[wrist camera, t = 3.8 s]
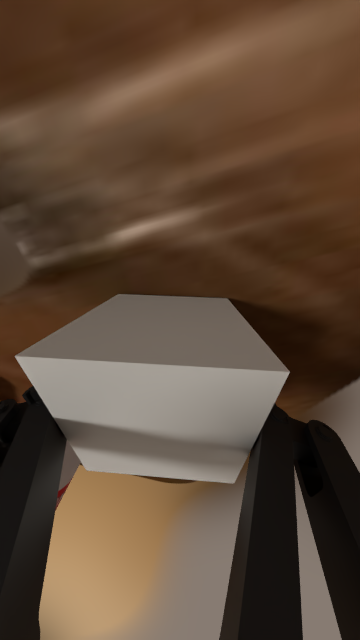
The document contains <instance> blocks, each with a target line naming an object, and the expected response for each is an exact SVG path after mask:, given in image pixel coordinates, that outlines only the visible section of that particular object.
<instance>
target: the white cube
mask: <svg viewBox="0 0 360 640" xmlns="http://www.w3.org/2000/svg"><path fill="white" fill-rule="evenodd" d="M15 358H16V359H17V361H18V362H19V364H20V365H21V367H22V369H23V370H24V372H25V373H26V375H27V377H28V378H29V380H30V381H31V383H32V385H33V386H34V388H35V389H36V391H37V392H38V394H39V396H40V397H41V399H42V400H43V402H44V404H45V405H46V407H47V408H48V410H49V412H50V413H51V415H52V416H53V418H54V420H55V421H56V423H57V424H58V426H59V427H60V429H61V431H62V432H63V434H64V435H65V437H66V439H67V440H68V442H69V443H70V445H71V447H72V448H73V450H74V451H75V453H76V454H77V456H78V458H79V459H80V461H81V462H82V464H83V466H84V467H85V469H86V470H87V471H98V472H110V473H121V474H132V475H144V476H155V477H167V478H178V479H189V480H201V481H212V482H224V483H234V482H235V480H236V478H237V476H238V474H239V472H240V470H241V468H242V466H243V464H244V462H245V460H246V458H247V456H248V454H249V452H250V451H251V449H252V447H253V445H254V443H255V441H256V439H257V437H258V435H259V433H260V431H261V429H262V427H263V425H264V423H265V421H266V419H267V417H268V415H269V413H270V411H271V409H272V407H273V405H274V403H275V401H276V399H277V397H278V395H279V393H280V391H281V389H282V387H283V385H284V383H285V381H286V379H287V377H288V375H289V373H290V371H289V370H288V369H287V368H286V367H285V366H284V364H283V363H282V362H281V361H280V360H279V359H278V357H277V356H276V355H275V354H274V353H273V352H272V350H271V349H270V348H269V347H268V346H267V344H266V343H265V342H264V341H263V340H262V339H261V337H260V336H259V335H258V334H257V333H256V332H255V330H254V329H253V328H252V327H251V326H250V324H249V323H248V322H247V321H246V320H245V319H244V317H243V316H242V315H241V314H240V313H239V312H238V310H237V309H236V308H235V307H234V306H233V305H232V303H231V302H230V301H229V300H228V299H227V298H205V297H180V296H154V295H129V294H118V295H116V296H115V297H113V298H111V299H110V300H108V301H106V302H104V303H103V304H101V305H99V306H98V307H96V308H94V309H93V310H91V311H89V312H88V313H86V314H84V315H83V316H81V317H79V318H78V319H76V320H74V321H73V322H71V323H69V324H68V325H66V326H64V327H63V328H61V329H59V330H58V331H56V332H54V333H53V334H51V335H49V336H47V337H46V338H44V339H42V340H41V341H39V342H37V343H36V344H34V345H32V346H31V347H29V348H27V349H26V350H24V351H22V352H21V353H19V354H17V355H16V356H15Z"/></svg>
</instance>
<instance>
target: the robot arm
mask: <svg viewBox="0 0 360 640" xmlns="http://www.w3.org/2000/svg"><path fill="white" fill-rule="evenodd" d="M22 396H23V398H24V399H25V400H26V402H24V403H19V404H17V402H16V401H15V400H13V399H7V400H4V401H1V402H0V640H40V626H39V620H38V619H39V606H40V600H41V594H42V588H43V582H44V576H45V569H46V563H47V556H48V551H49V545H50V539H51V533H52V527H53V521H54V515H55V509H56V503H57V496H58V490H59V484H60V478H61V472H62V466H63V460H64V454H65V448H66V442H67V439H66V437H65V435H64V434H63V432H62V431H61V429H60V427H59V426H58V424H57V423H56V421H55V420H54V418H53V416H52V415H51V413H50V412H49V410H48V408H47V407H46V405H45V404H44V402H43V400H42V399H41V397H40V396H39V394H38V392H37V391H36V389H35V388H34V386H33V387H31V388H29V389H28V390H27V391H26V392H25V393H24V394H23V395H22ZM294 466H295V470H296V473H297V477H298V480H299V484H300V488H301V491H302V495H303V499H304V503H305V506H306V510H307V514H308V517H309V521H310V525H311V528H312V532H313V535H314V539H315V542H316V546H317V550H318V554H319V557H320V561H321V565H322V568H323V572H324V576H325V579H326V583H327V587H328V590H329V594H330V597H331V601H332V605H333V608H334V612H335V616H336V619H337V623H338V627H339V631H340V634H341V638H342V640H360V473H359V471H358V470H357V467H356V466H355V464H354V462H353V460H352V459H351V457H350V455H349V453H348V451H347V450H346V448H345V446H344V444H343V443H342V441H341V439H340V438H339V436H338V435H337V433H336V432H335V431H334V430H332V429H331V428H330V427H329V426H327V425H326V424H324V423H322V422H320V421H317V420H311V421H309V422H308V423H304V422H301V421H298V420H295V419H293V418H291V417H289V416H288V415H287V413H285V412H284V411H283V410H282V409H280V408H279V407H277V406H276V404H275V403H274V405H273V407H272V409H271V411H270V413H269V415H268V417H267V419H266V421H265V423H264V425H263V427H262V429H261V431H260V433H259V435H258V437H257V439H256V441H255V443H254V445H253V447H252V449H251V452H250V458H249V464H248V471H247V476H246V483H245V489H244V494H243V500H242V507H241V513H240V518H239V524H238V531H237V537H236V543H235V549H234V555H233V561H232V567H231V573H230V579H229V585H228V592H227V597H226V603H225V609H224V615H223V622H222V627H221V633H220V638H219V640H303V635H302V634H303V633H302V615H301V594H300V576H299V556H298V536H297V516H296V497H295V480H294V479H295V478H294Z"/></svg>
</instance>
